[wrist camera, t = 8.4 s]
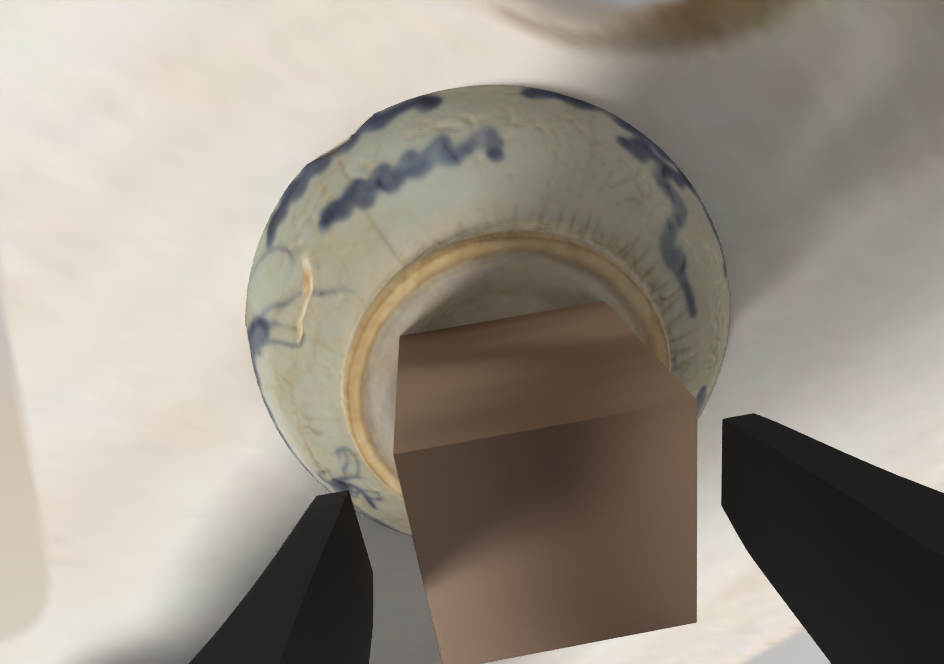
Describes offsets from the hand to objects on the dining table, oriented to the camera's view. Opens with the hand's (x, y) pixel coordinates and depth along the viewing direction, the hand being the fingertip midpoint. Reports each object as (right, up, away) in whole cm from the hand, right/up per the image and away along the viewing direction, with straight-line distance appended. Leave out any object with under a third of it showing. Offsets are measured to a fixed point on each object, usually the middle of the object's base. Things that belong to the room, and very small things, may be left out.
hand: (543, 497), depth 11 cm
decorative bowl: (-1, +3, +7) cm, 8 cm away
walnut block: (0, +1, +4) cm, 4 cm away
